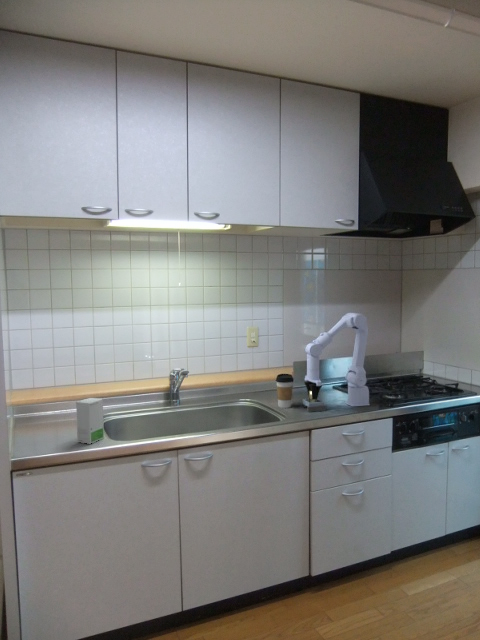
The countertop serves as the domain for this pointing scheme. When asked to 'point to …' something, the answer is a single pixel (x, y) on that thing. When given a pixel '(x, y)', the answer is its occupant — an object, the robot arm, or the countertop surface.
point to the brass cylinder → (311, 397)
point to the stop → (316, 408)
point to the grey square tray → (306, 403)
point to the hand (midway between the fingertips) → (312, 397)
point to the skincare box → (90, 420)
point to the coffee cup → (284, 390)
